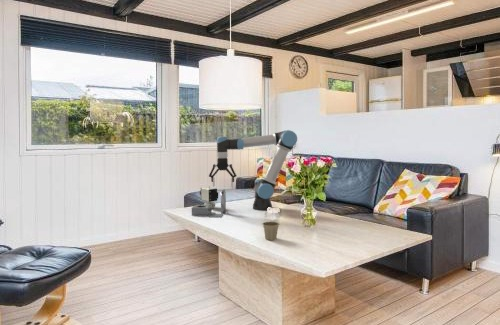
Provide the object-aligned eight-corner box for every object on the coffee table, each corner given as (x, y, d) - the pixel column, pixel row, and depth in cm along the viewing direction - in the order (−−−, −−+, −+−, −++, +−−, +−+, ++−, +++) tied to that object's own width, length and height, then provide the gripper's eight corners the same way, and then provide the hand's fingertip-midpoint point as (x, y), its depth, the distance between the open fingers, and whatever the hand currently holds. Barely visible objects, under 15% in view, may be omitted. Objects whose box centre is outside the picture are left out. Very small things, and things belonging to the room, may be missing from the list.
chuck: (211, 212, 275) (211, 204, 274) (208, 215, 263) (207, 208, 262) (195, 211, 276) (195, 204, 275) (191, 215, 264) (191, 208, 263)
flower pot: (282, 238, 203) (282, 223, 203) (272, 242, 196) (272, 226, 196) (269, 235, 210) (269, 220, 209) (259, 239, 203) (258, 223, 202)
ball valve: (220, 209, 285) (220, 186, 284) (211, 210, 280) (210, 187, 279) (208, 205, 299) (208, 184, 298) (199, 206, 294) (199, 185, 293)
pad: (223, 214, 266) (223, 213, 266) (221, 217, 257) (221, 216, 257) (211, 214, 266) (211, 213, 266) (208, 217, 257) (208, 216, 257)
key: (226, 211, 274) (226, 189, 273) (224, 214, 265) (224, 191, 263) (222, 211, 275) (221, 189, 273) (219, 214, 265) (219, 191, 264)
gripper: (239, 157, 269) (240, 185, 271) (206, 157, 271) (207, 185, 273) (238, 158, 262) (239, 187, 263) (204, 158, 264) (205, 187, 265)
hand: (222, 186), depth 268 cm, fingers open, 13 cm apart
